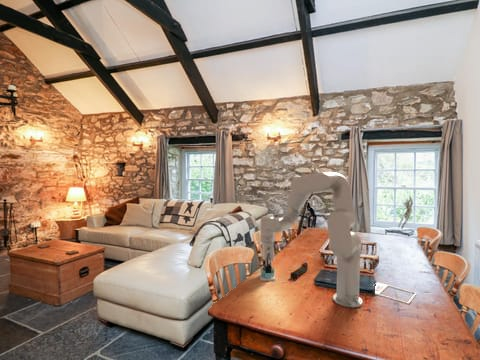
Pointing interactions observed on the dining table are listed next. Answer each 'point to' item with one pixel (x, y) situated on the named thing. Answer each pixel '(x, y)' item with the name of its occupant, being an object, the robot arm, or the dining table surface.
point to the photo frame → (381, 287)
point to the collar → (267, 275)
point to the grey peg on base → (267, 278)
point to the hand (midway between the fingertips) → (267, 269)
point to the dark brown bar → (299, 271)
